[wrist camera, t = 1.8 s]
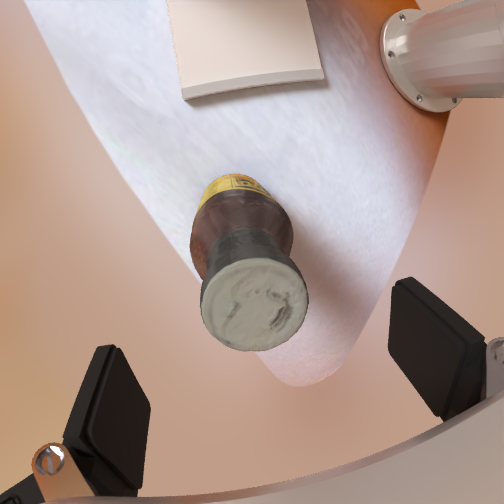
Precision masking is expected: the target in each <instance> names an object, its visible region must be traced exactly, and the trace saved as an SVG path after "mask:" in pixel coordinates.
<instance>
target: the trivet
mask: <svg viewBox="0 0 504 504" xmlns="http://www.w3.org/2000/svg"><path fill="white" fill-rule="evenodd" d="M166 3H167V9H168V16H169V22H170V28H171V34H172V40H173V46H174V51H175V57H176V63H177V68H178V74H179V79H180V85H181V91H182V97H183V100H188V99H192V98H197V97H202V96H207V95H212V94H217V93H222V92H228V91H233V90H239V89H245V88H252V87H259V86H266V85H274V84H283V83H292V82H303V81H316V80H322V79H324V73H323V69H321V64H320V59H319V54H318V49H317V45H316V40H315V36H314V32H313V27H312V23H311V19H310V15H309V11H308V7H307V3H306V0H166Z"/></svg>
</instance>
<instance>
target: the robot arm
mask: <svg viewBox="0 0 504 504" xmlns="http://www.w3.org/2000/svg"><path fill="white" fill-rule="evenodd" d="M380 52H381V58H382V61H383V64H384V68H385V70H386V72H387V74H388V76H389V78H390V80H391V82H392V83H393V85H394V86H395V88H396V89H397V90H398V91H399V92H400V94H401V95H402V96H403V97H404V98H405V99H407V100H408V101H409V102H410V103H411V104H413V105H415V106H416V107H418V108H420V109H423V110H425V111H429V112H445V111H449V110H451V109H453V108H455V107H456V106H457V105H458V104H459V103H460V102H461V100H462V98H504V0H464V1H462V2H458V3H456V4H453V5H450V6H448V7H445V8H442V9H439V10H437V11H434V12H432V13H427V12H425V11H421V10H418V9H405V10H401V11H399V12H397V13H395V14H393V15H392V16H390V17H389V18H388V20H387V21H386V22H385V23H384V26H383V28H382V30H381V35H380ZM484 339H485V337H484V336H483V335H482V334H481V333H479V332H478V331H477V330H476V329H475V328H474V327H473V326H472V325H470V324H469V323H468V322H467V321H466V320H464V319H463V318H462V317H461V316H460V315H459V314H458V313H456V312H455V311H454V310H453V309H452V308H450V307H449V306H448V305H447V304H445V303H444V302H443V301H442V300H441V299H440V298H438V297H437V296H436V295H434V294H433V293H432V292H431V291H430V290H428V289H427V288H426V287H425V286H423V285H422V284H421V283H420V282H418V281H417V280H416V279H414V278H413V277H408V278H404V279H401V280H398V281H397V282H396V283H395V286H393V287H392V294H391V312H390V327H389V339H388V351H389V353H390V355H391V357H392V358H393V359H394V361H395V362H396V363H397V365H398V366H399V367H400V369H401V370H402V371H403V373H404V374H405V375H406V377H407V378H408V379H409V381H410V382H411V383H412V385H413V386H414V388H415V389H416V390H417V392H418V393H419V394H420V396H421V397H422V399H423V400H424V401H425V403H426V404H427V405H428V407H429V408H430V409H431V411H432V412H433V414H434V415H435V416H436V417H439V416H440V417H441V419H442V420H443V422H444V423H442V424H440V425H438V426H436V427H434V428H432V429H430V430H428V431H426V432H424V433H422V434H420V435H418V436H415V437H413V438H411V439H409V440H407V441H405V442H402V443H400V444H398V445H395V446H393V447H390V448H388V449H385V450H383V451H380V452H378V453H375V454H373V455H370V456H368V457H365V458H362V459H359V460H357V461H354V462H351V463H348V464H344V465H341V466H338V467H335V468H332V469H329V470H325V471H322V472H318V473H315V474H311V475H307V476H304V477H300V478H296V479H292V480H287V481H283V482H278V483H273V484H269V485H263V486H258V487H253V488H247V489H241V490H234V491H226V492H219V493H210V494H199V495H186V496H167V497H137V494H138V489H141V488H142V483H143V471H144V462H145V451H146V444H147V435H148V427H149V420H150V412H151V407H150V403H149V401H148V399H147V397H146V396H145V394H144V392H143V390H142V388H141V386H140V385H139V383H138V381H137V379H136V377H135V375H134V373H133V372H132V370H131V368H130V366H129V364H128V362H127V360H126V358H125V356H124V354H123V352H122V350H121V349H120V348H116V346H115V345H113V344H112V345H105V346H99V347H97V349H96V351H95V353H94V355H93V358H92V360H91V362H90V365H89V367H88V370H87V372H86V375H85V377H84V380H83V382H82V385H81V387H80V390H79V392H78V395H77V398H76V401H75V403H74V406H73V408H72V411H71V414H70V417H69V419H68V422H67V425H66V428H65V431H64V434H63V438H64V440H63V443H62V444H60V443H55V442H54V443H48V444H46V445H44V446H42V447H41V448H40V449H38V451H37V452H36V453H35V454H34V457H33V459H32V470H33V474H31V475H30V476H28V477H27V478H25V479H24V480H22V481H21V482H19V483H18V484H16V485H14V486H13V487H11V488H10V489H8V490H7V491H5V492H4V493H2V494H1V495H0V504H504V337H498V338H495V339H493V340H491V341H490V342H489V343H488V345H487V344H486V343H485V342H484Z"/></svg>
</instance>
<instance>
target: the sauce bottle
mask: <svg viewBox="0 0 504 504" xmlns="http://www.w3.org/2000/svg"><path fill="white" fill-rule="evenodd" d="M292 244H293V228H292V225H291V221H290V219H289V217H288V215H287V213H286V212H285V211H284V209H283V208H282V207H281V206H280V205H279V204H278V203H277V202H276V201H275V200H274V198H273V197H272V196H271V195H270V194H269V193H268V192H267V191H266V190H265V189H264V188H263V187H262V186H261V185H260V184H259V183H258V182H257V181H256V180H254V179H253V178H251V177H249V176H246V175H241V174H228V175H224V176H222V177H220V178H218V179H216V180H215V181H213V182H212V183H211V184H210V185H209V186H208V187H207V188H206V189H205V191H204V193H203V196H202V198H201V201H200V204H199V206H198V210H197V213H196V216H195V219H194V222H193V226H192V233H191V238H190V252H191V257H192V261H193V263H194V266H195V269H196V270H197V272H198V274H199V275H200V278H201V279H202V280H203V283H202V287H201V297H200V308H201V315H202V319H203V322H204V324H205V326H206V328H207V329H208V331H209V332H210V333H211V334H212V335H213V336H214V337H215V338H216V339H218V340H219V341H220V342H221V343H223V344H224V345H226V346H227V347H230V348H232V349H236V350H239V351H265V350H268V349H271V348H274V347H276V346H278V345H280V344H282V343H284V342H286V341H288V340H289V339H290V338H291V337H292V336H293V335H294V334H295V333H296V332H297V331H298V329H299V328H300V327H301V326H302V324H303V322H304V318H305V316H306V313H307V308H308V304H309V297H308V292H307V287H306V283H305V281H304V279H303V277H302V275H301V272H300V271H299V269H298V268H297V266H296V265H295V263H294V262H293V261H292V260H291V259H290V258H289V255H290V251H291V247H292Z"/></svg>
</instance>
